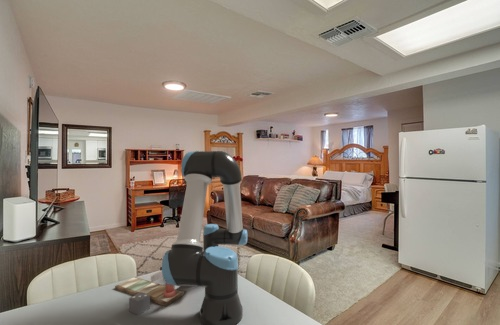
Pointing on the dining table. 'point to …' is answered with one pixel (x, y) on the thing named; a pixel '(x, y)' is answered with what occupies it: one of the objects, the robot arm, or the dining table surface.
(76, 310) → the dining table surface
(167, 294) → the pawn
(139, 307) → the die
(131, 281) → the board
